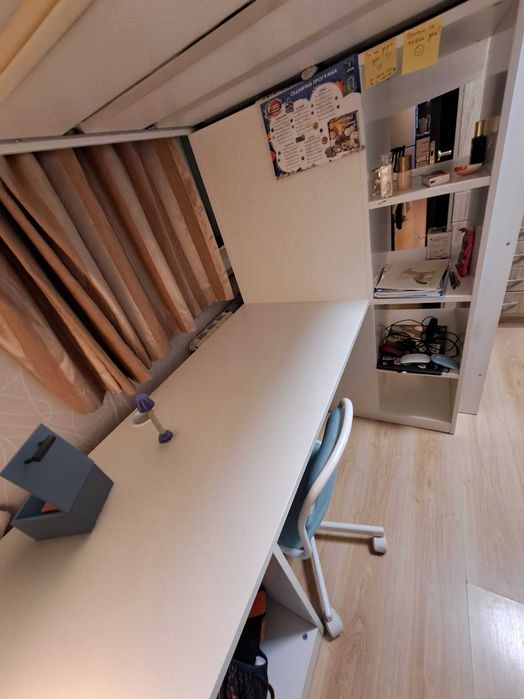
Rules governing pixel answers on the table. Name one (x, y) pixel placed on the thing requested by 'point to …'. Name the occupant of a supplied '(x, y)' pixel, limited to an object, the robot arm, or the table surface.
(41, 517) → the blue storage chest
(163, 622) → the table surface
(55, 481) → the lid
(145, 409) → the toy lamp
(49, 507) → the block
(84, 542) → the table surface
